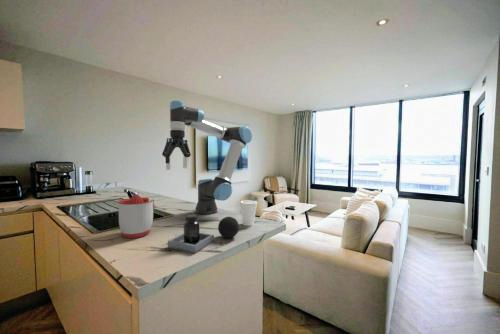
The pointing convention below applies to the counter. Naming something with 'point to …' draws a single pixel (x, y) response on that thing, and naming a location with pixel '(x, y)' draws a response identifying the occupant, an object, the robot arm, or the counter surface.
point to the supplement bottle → (191, 230)
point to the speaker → (228, 227)
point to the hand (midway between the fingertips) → (177, 169)
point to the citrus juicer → (135, 216)
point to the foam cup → (248, 212)
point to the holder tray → (180, 245)
